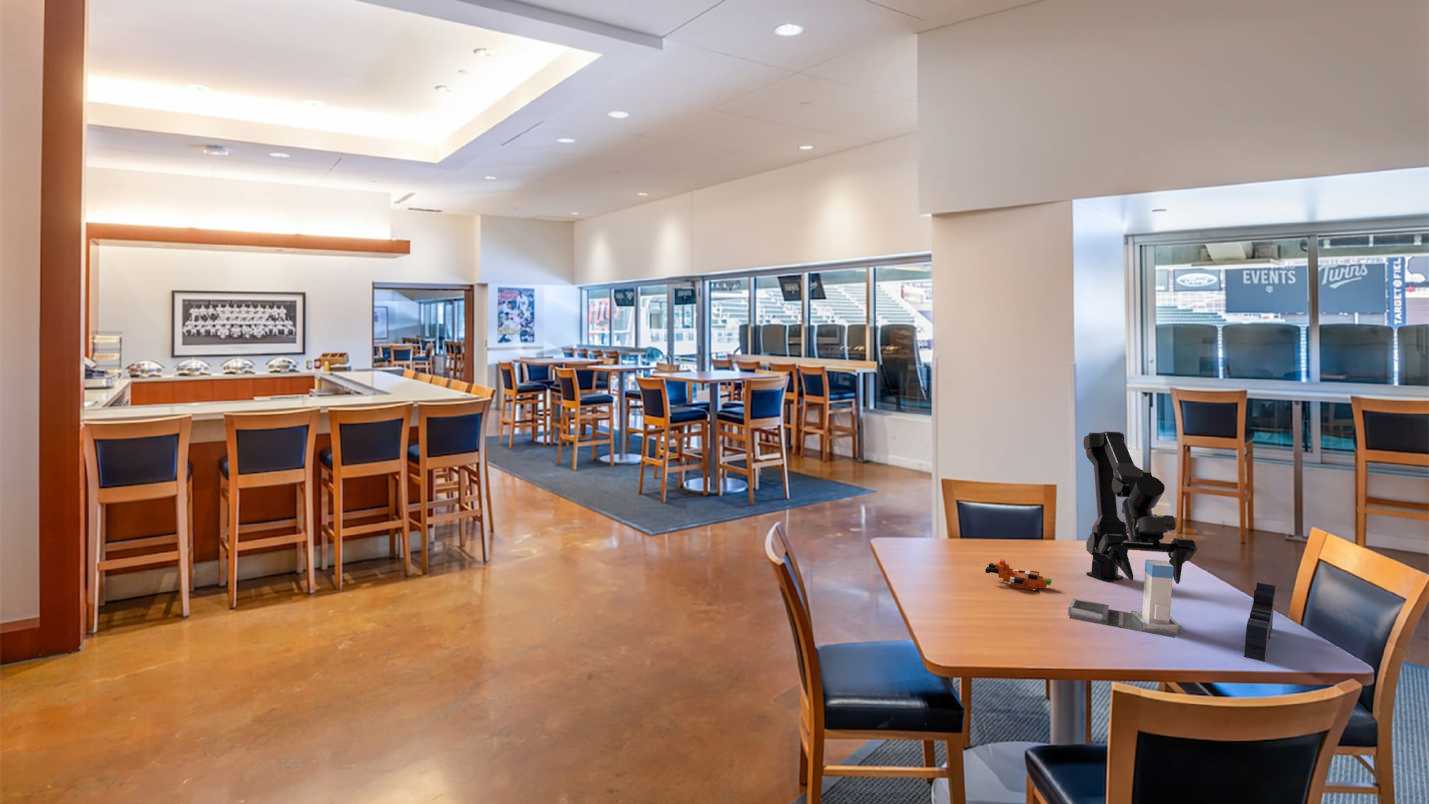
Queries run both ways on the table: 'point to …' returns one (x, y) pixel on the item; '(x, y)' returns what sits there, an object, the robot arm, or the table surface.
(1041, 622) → the table surface
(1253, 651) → the logo
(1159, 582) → the plug
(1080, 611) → the grey square holder
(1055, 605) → the table surface
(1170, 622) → the gray square frame
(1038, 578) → the toy
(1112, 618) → the panel
